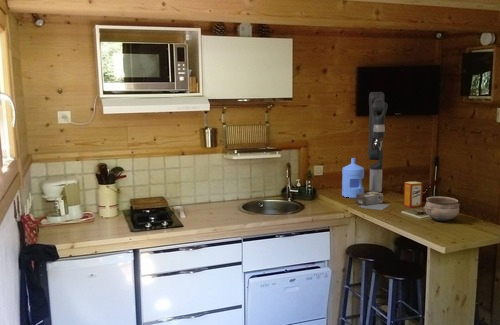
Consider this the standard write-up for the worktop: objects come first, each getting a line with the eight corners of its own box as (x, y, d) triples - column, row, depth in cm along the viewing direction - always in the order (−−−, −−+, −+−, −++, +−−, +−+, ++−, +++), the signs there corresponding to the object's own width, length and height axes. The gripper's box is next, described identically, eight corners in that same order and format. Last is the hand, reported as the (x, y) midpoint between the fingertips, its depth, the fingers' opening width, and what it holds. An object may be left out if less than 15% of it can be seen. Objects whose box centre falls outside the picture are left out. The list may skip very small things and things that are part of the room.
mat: (367, 202, 322) (367, 202, 322) (390, 205, 313) (390, 204, 313) (358, 207, 309) (358, 206, 309) (381, 210, 300) (381, 210, 300)
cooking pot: (434, 226, 264) (435, 205, 262) (413, 218, 281) (413, 198, 280) (470, 221, 272) (471, 201, 270) (446, 214, 289) (447, 194, 288)
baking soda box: (414, 204, 316) (415, 180, 314) (421, 206, 310) (422, 182, 308) (403, 205, 313) (404, 182, 310) (410, 207, 307) (411, 183, 304)
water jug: (337, 196, 343) (338, 158, 339) (350, 193, 353) (350, 156, 349) (355, 199, 332) (356, 160, 327) (368, 196, 342) (368, 158, 338)
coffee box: (373, 200, 327) (355, 203, 320) (373, 191, 326) (355, 193, 319) (382, 203, 319) (364, 206, 312) (383, 193, 318) (365, 196, 311)
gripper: (377, 130, 333) (376, 154, 336) (370, 131, 323) (369, 156, 325) (387, 130, 329) (386, 154, 332) (381, 131, 318) (380, 157, 321)
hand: (378, 155), depth 328 cm, fingers closed
